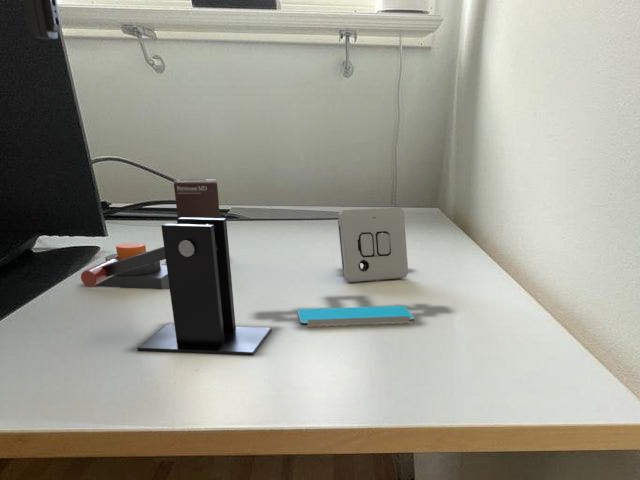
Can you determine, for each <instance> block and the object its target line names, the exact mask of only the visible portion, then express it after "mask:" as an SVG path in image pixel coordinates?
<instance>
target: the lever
mask: <svg viewBox="0 0 640 480" xmlns="http://www.w3.org/2000/svg"><path fill="white" fill-rule="evenodd" d="M205 225H210V224H209V223H208V224H205ZM215 244H216V251H218V250H219V248H218V245H217V242H216V240H215ZM164 260H166V257H165V250H164V246H161V247H158V248H155V249H151V250H148V251H146V252H145V253H142V254H138V255H135V256H132V257H129V258H126V259H122V260H119V261H117V260H115V259H110V260H108V261H106V260H105V261H103V262H101V263H99V264H96V265H94V266H92V267H90V268H88V269H85V270H83V271H82V273H81V274H80V280H81V282H82V283H83V285H84V286H85V287H91V288H92V287H95V286H94V285H96V284H98V283H100V282H102V281H104V280H106V279H108V278H110V277H112V276H114V275H116V274H119V273H122V272H125V271H128V270H132V269H135V268H138V267H141V266H145V265H148V264H151V263H154V262H158V261H160V262H161V261H164Z"/></svg>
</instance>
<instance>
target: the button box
mask: <svg viewBox="0 0 640 480" xmlns="http://www.w3.org/2000/svg"><path fill="white" fill-rule="evenodd" d="M104 259H105V261H108V260H110V259H115V260H117V261H119V260H122V259H118V256H117V252H116V253H112V254H109V255H107V256H105V258H104ZM93 287H106V288H119V289H145V290H146V289H149V290H170V288H169V280H168V273H167V265H166V264H161V261H158V262H154V263H151V264H148V265H145V266H141V267H138V268H135V269H132V270H128V271H125V272H122V273H119V274H116V275H114V276H112V277H110V278H108V279H106V280H104V281H102V282H100V283H98V284H96V285H94V286H93Z"/></svg>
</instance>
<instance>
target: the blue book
mask: <svg viewBox="0 0 640 480" xmlns="http://www.w3.org/2000/svg"><path fill="white" fill-rule="evenodd" d="M297 314H298V317H299V321H300V323H301V324H307V327H308V328H323V327H324V328H328V327H351V326H352V327H353V326H382V325H405V324H407V325H409V324H410V323H412V322H413V319H414V318H415V317H414V315H413V314H412V313H411V312H410V310H409V309H408V308H407V307H406V306H405V305H384V306H383V305H382V306H352V307H349V306H348V307H323V308H299V309H298V310H297Z"/></svg>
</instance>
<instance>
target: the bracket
mask: <svg viewBox="0 0 640 480" xmlns="http://www.w3.org/2000/svg"><path fill="white" fill-rule="evenodd" d="M208 223H209V224H210V225H205V224H208ZM160 226H161V234H162V241H163V247H164V250H165V257H166V259H165V265H167V273H168V280H169V288H170V289H169V296H170V301H171V309H172V317H173V323H166V325H164V326H162V327H161V328H160V329H159V330H158V331H157V332H155V333H154V334H153V335H152V336H150V337H149V338H148V339H146V340H145V341H144V342H143V343H142V344H140V345H139V346H138V347H137V349H136V350H137V352H147V353H148V352H149V353H150V352H151V353H171V354H172V353H174V354H175V353H177V354H198V355H199V354H200V355H201V354H203V355H225V356H227V355H228V356H251V357H253V356H254V355H255V354H256V352H258V350H259V349H260V348H261V346H262V344H264V342H265V340H266V339H267V338H268V336H269V335H270V334H271V332H272V329H273V328H272V327H262V326H261V327H260V326H236V316H235V304H234V303H235V302H234V292H233V282H232V270H231V268H232V267H231V257H230V247H229V235H228V223H227V218H225V217H220V218H183V217H181V218H178V217H177V218H176V223H163V224H162V225H160ZM215 240H216V242H217V245H218V248H219V250H218V251H216V244H215Z"/></svg>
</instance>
